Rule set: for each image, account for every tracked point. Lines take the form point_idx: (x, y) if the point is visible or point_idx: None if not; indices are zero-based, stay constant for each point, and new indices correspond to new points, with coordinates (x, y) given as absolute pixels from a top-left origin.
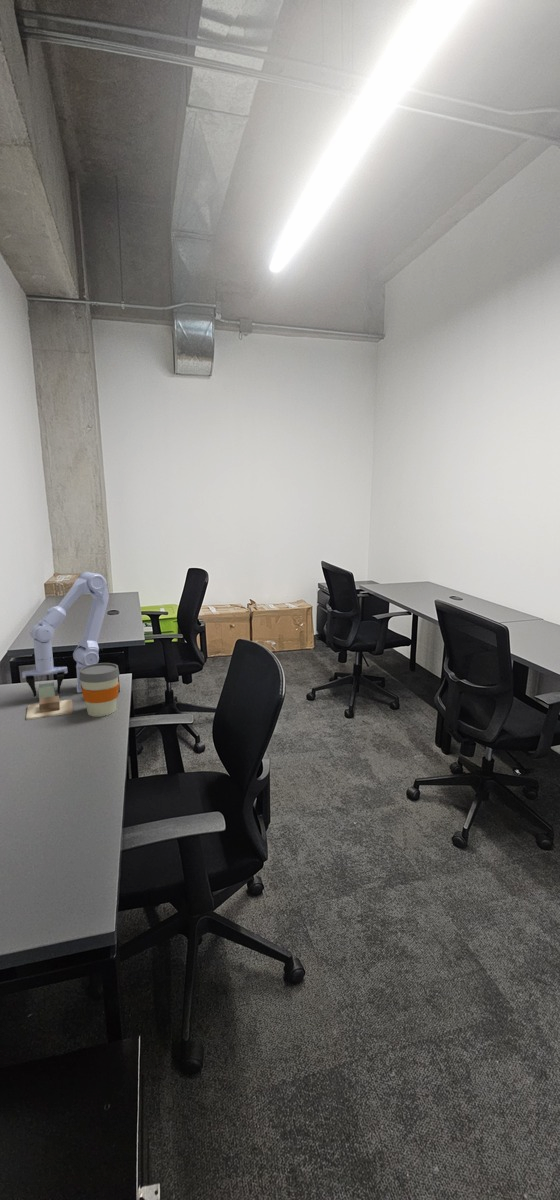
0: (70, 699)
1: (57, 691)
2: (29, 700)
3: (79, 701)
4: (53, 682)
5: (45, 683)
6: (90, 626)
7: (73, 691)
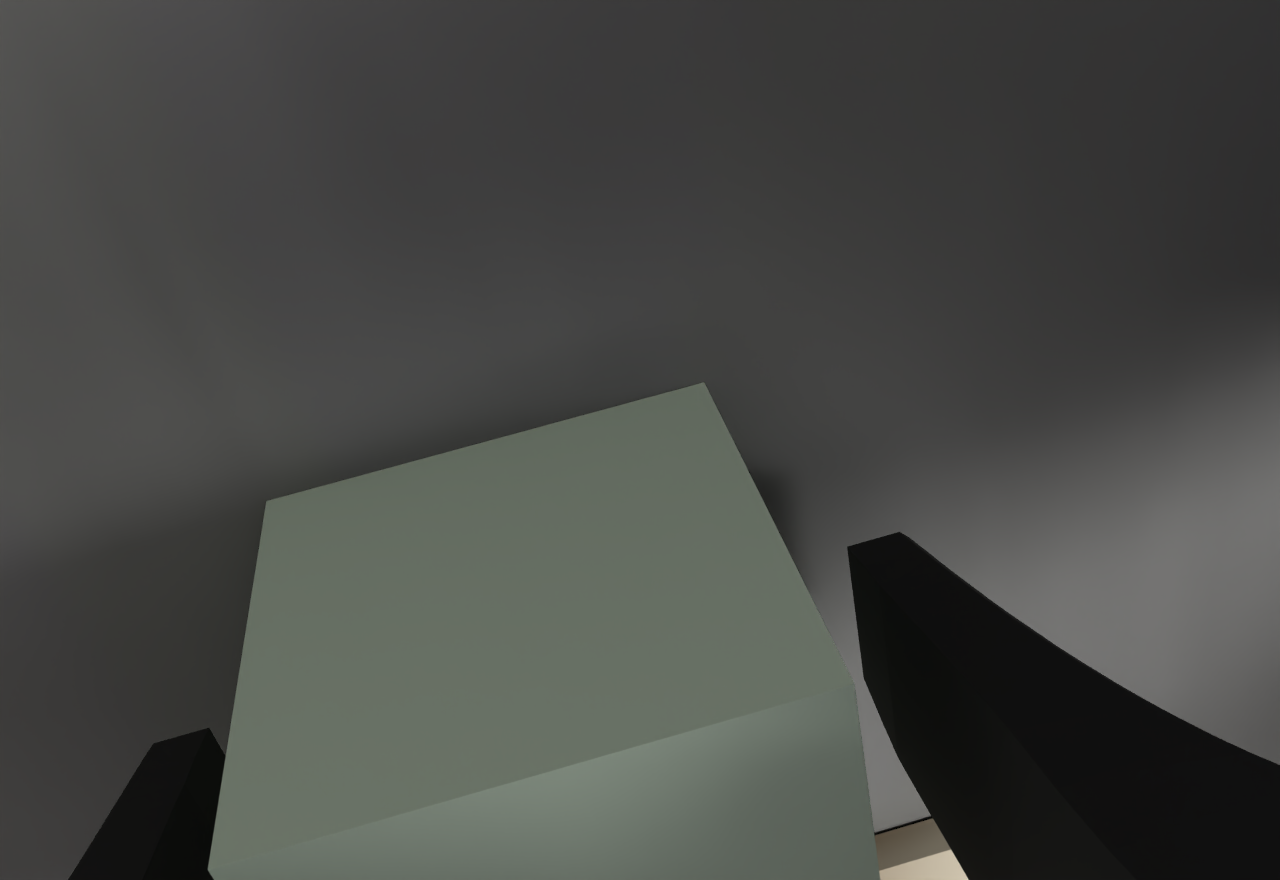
0: None
1: (897, 751)
2: (51, 712)
3: None
4: (834, 701)
5: (495, 793)
6: None
7: (1239, 120)
